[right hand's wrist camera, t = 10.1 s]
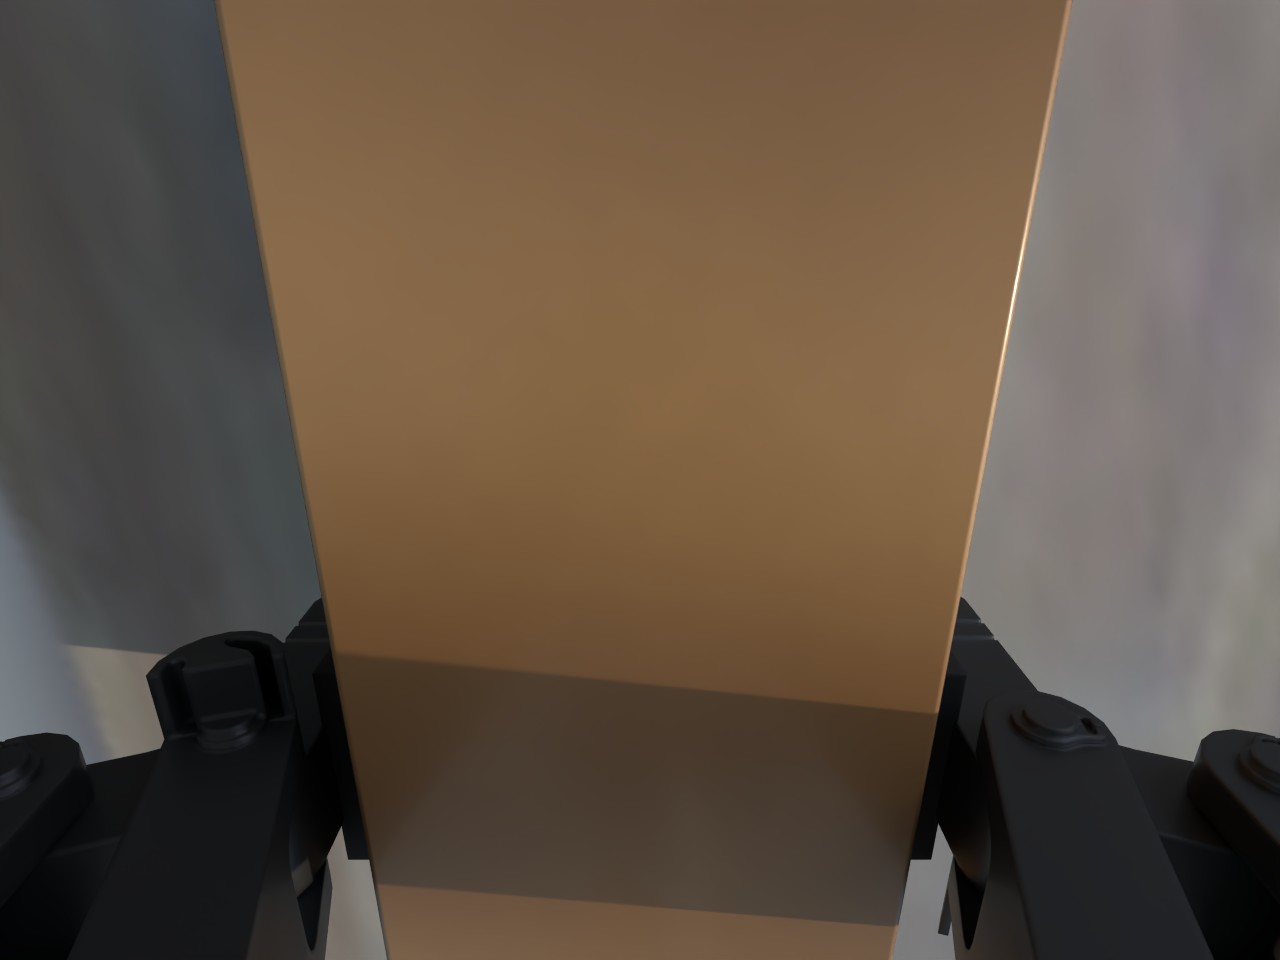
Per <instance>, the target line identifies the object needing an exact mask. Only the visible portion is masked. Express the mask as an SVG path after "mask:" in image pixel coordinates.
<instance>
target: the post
mask: <svg viewBox="0 0 1280 960" xmlns="http://www.w3.org/2000/svg"><path fill="white" fill-rule="evenodd" d="M1072 1H1073V0H214V4H215V9H216V15H217V21H218V26H219V32H220V37H221V43H222V48H223V54H224V59H225V65H226V70H227V76H228V81H229V87H230V92H231V98H232V103H233V109H234V115H235V120H236V126H237V131H238V137H239V142H240V148H241V153H242V159H243V164H244V170H245V175H246V181H247V186H248V192H249V197H250V203H251V209H252V214H253V220H254V225H255V231H256V236H257V242H258V247H259V253H260V258H261V264H262V269H263V275H264V280H265V286H266V291H267V297H268V303H269V308H270V314H271V319H272V325H273V330H274V336H275V341H276V347H277V352H278V358H279V363H280V369H281V374H282V380H283V385H284V391H285V396H286V402H287V408H288V413H289V419H290V424H291V430H292V435H293V441H294V446H295V452H296V457H297V463H298V468H299V474H300V479H301V485H302V490H303V496H304V502H305V507H306V513H307V518H308V524H309V529H310V535H311V540H312V546H313V551H314V557H315V562H316V568H317V573H318V579H319V584H320V590H321V596H322V601H323V607H324V612H325V618H326V623H327V629H328V634H329V640H330V645H331V651H332V656H333V662H334V667H335V673H336V678H337V684H338V690H339V695H340V701H341V706H342V712H343V717H344V723H345V728H346V734H347V739H348V745H349V750H350V756H351V761H352V767H353V772H354V778H355V784H356V789H357V795H358V800H359V806H360V811H361V817H362V822H363V828H364V833H365V839H366V844H367V850H368V855H369V861H370V866H371V872H372V878H373V883H374V889H375V894H376V900H377V905H378V911H379V916H380V922H381V927H382V933H383V938H384V944H385V949H386V955H387V960H892V956H893V951H894V946H895V940H896V935H897V930H898V925H899V919H900V914H901V909H902V903H903V898H904V893H905V887H906V882H907V877H908V871H909V866H910V861H911V856H912V850H913V845H914V840H915V834H916V829H917V824H918V818H919V813H920V808H921V803H922V797H923V792H924V787H925V781H926V776H927V771H928V765H929V760H930V755H931V749H932V744H933V739H934V734H935V728H936V723H937V718H938V712H939V707H940V702H941V696H942V691H943V686H944V680H945V675H946V670H947V665H948V659H949V654H950V649H951V643H952V638H953V633H954V627H955V622H956V617H957V611H958V606H959V601H960V596H961V590H962V585H963V580H964V574H965V569H966V564H967V558H968V553H969V548H970V543H971V537H972V532H973V527H974V521H975V516H976V511H977V505H978V500H979V495H980V489H981V484H982V479H983V474H984V468H985V463H986V458H987V452H988V447H989V442H990V436H991V431H992V426H993V420H994V415H995V410H996V405H997V399H998V394H999V389H1000V383H1001V378H1002V373H1003V367H1004V362H1005V357H1006V351H1007V346H1008V341H1009V336H1010V330H1011V325H1012V320H1013V314H1014V309H1015V304H1016V298H1017V293H1018V288H1019V283H1020V277H1021V272H1022V267H1023V261H1024V256H1025V251H1026V245H1027V240H1028V235H1029V229H1030V224H1031V219H1032V214H1033V208H1034V203H1035V198H1036V192H1037V187H1038V182H1039V176H1040V171H1041V166H1042V160H1043V155H1044V150H1045V145H1046V139H1047V134H1048V129H1049V123H1050V118H1051V113H1052V107H1053V102H1054V97H1055V91H1056V86H1057V81H1058V76H1059V70H1060V65H1061V60H1062V54H1063V49H1064V44H1065V38H1066V33H1067V28H1068V23H1069V17H1070V12H1071V7H1072Z"/></svg>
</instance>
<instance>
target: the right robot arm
mask: <svg viewBox="0 0 1280 960" xmlns="http://www.w3.org/2000/svg"><path fill="white" fill-rule="evenodd" d="M146 678H147V681H148V685H149V688H150V691H151V695H152V698H153V702H154V705H155V708H156V712H157V715H158V719H159V722H160V726H161V729H162V732H163V736H164V739H165V740H164V742H163V744H162V746H161V749H157V750H153V751H150V752H146V753H141V754H137V755H132V756H127V757H122V758H118V759H113V760H108V761H103V762H99V763H94V764H89V765H86V763H85V760H84V757H83V754H82V751H81V748H80V745H79V743H77V742H76V741H75V740H73V739H72V738H71V737H69V736H68V735H63V734H53V733H41V734H34V735H27V736H20V737H16V738H12V739H8V740H5V741H4V742H0V960H325V952H326V942H327V933H328V924H329V914H330V905H331V896H332V882H331V875H330V869H329V865H328V860H327V855H328V853H329V851H330V849H331V847H332V845H333V843H334V841H335V838H336V836H337V834H338V832H339V830H340V828H341V826H342V830H343V835H344V841H345V846H346V851H347V856H348V860H369V855H368V850H367V844H366V839H365V833H364V828H363V822H362V817H361V811H360V806H359V800H358V795H357V789H356V784H355V778H354V772H353V767H352V761H351V756H350V750H349V745H348V739H347V734H346V728H345V723H344V717H343V712H342V706H341V701H340V695H339V690H338V684H337V678H336V673H335V667H334V662H333V656H332V651H331V645H330V640H329V634H328V629H327V623H326V618H325V612H324V607H323V601H322V598H320V599H319V600H317V601H315V602H314V604H313V605H312V606H311V607H310V609H309V610H308V611H307V612H306V614H305V615H304V616H303V617H302V619H301V620H300V621H299V626H295V628H294V629H293V630H292V631H291V633H290V634H289V635H288V636H287V638H286V642H285V643H282V642H281V641H279V640H278V639H277V638H276V637H274V636H273V635H272V634H267V633H262V632H257V631H237V632H227V633H223V634H218V635H214V636H209V637H205V638H202V639H200V640H197V641H195V642H192V643H190V644H187V645H185V646H183V647H180V648H178V649H177V650H175V651H174V652H172V653H170V654H169V655H167V656H166V657H164V658H163V659H161V660H160V661H158V662H157V664H156V665H155V666H154V667H153V668H152V669H151V670H150V672H149V673H148V674H147V675H146ZM938 823H939V826H940V828H941V830H942V832H943V834H944V836H945V838H946V840H947V842H948V845H949V847H950V849H951V851H952V853H953V860H952V865H951V869H950V874H949V879H948V884H947V889H946V893H945V898H944V903H943V908H942V913H941V918H940V924H939V930H938V933H939V934H943V935H947V936H948V933H949V929H950V924H951V922H952V931H953V940H954V950H955V959H956V960H1280V738H1279V739H1278V738H1275V736H1271V735H1266V734H1262V733H1257V732H1249V731H1242V730H1235V729H1232V730H1223V731H1214V732H1212V733H1211V734H1209V735H1208V736H1206V737H1205V738H1204V739H1202V740H1201V743H1200V746H1199V749H1198V752H1197V754H1196V757H1195V760H1194V762H1192V761H1187V760H1182V759H1178V758H1173V757H1168V756H1163V755H1158V754H1154V753H1149V752H1144V751H1139V750H1135V749H1131V748H1127V747H1123V746H1120V745H1118V743H1117V741H1116V738H1115V737H1114V736H1113V734H1112V733H1111V732H1110V730H1109V729H1108V728H1107V726H1106V725H1105V724H1104V722H1102V721H1101V720H1100V719H1098V718H1097V717H1096V716H1094V715H1093V714H1092V713H1090V712H1089V711H1088V710H1086V709H1085V708H1083V707H1081V706H1079V705H1077V704H1074V703H1072V702H1070V701H1068V700H1066V699H1064V698H1062V697H1058V696H1054V695H1051V694H1047V693H1043V692H1039V691H1037V689H1036V688H1035V687H1034V685H1033V684H1032V683H1031V682H1030V680H1029V679H1028V678H1027V677H1026V675H1025V674H1024V673H1023V672H1022V670H1021V669H1020V668H1019V667H1018V665H1017V664H1016V663H1015V662H1014V660H1013V659H1012V658H1011V657H1010V655H1009V654H1008V653H1007V652H1006V650H1005V649H1004V648H1003V647H1002V645H1001V644H1000V643H999V642H998V640H994V635H993V634H992V633H991V632H990V630H989V629H988V628H987V627H986V625H985V624H984V623H981V619H980V618H979V616H978V615H977V614H976V613H975V611H974V610H973V609H972V608H971V606H970V605H969V604H968V603H967V601H966V600H965V599H963V598H962V597H960V601H959V606H958V611H957V617H956V622H955V627H954V633H953V638H952V643H951V649H950V654H949V659H948V665H947V670H946V675H945V680H944V686H943V691H942V696H941V702H940V707H939V712H938V718H937V723H936V728H935V734H934V739H933V744H932V749H931V755H930V760H929V765H928V771H927V776H926V781H925V787H924V792H923V797H922V803H921V808H920V813H919V818H918V824H917V829H916V834H915V840H914V845H913V850H912V856H911V860H931V858H932V853H933V847H934V842H935V837H936V832H937V827H938Z"/></svg>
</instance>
